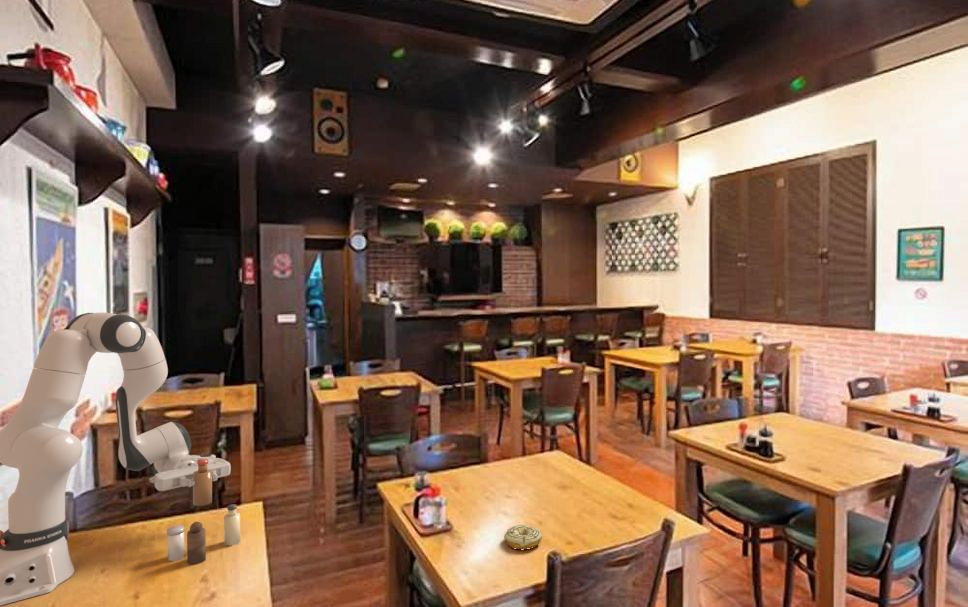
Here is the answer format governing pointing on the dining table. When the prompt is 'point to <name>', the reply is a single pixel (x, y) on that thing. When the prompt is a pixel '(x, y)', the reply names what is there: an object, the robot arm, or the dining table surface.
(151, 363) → the robot arm
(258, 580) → the dining table surface
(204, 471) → the soy bottle
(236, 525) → the vinegar bottle
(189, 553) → the pepper mill
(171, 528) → the salt shaker
